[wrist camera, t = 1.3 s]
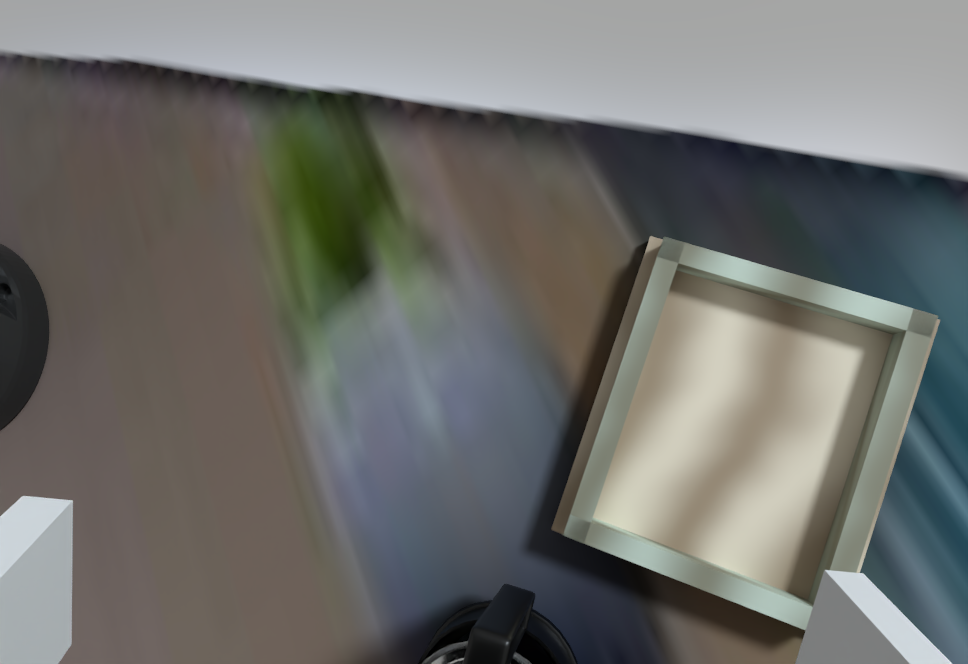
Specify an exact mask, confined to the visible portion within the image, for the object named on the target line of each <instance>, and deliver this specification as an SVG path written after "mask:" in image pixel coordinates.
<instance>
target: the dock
mask: <svg viewBox="0 0 968 664" xmlns="http://www.w3.org/2000/svg"><path fill="white" fill-rule="evenodd" d="M937 318H938V316H937V315H934V314H930V313H927V312H923V311H920V310H916V309H913V308H909V307H906V306H902V305H899V304H896V303H892V302H889V301H885V300H882V299H878V298H875V297H871V296H868V295H864V294H861V293H857V292H854V291H850V290H847V289H844V288H840V287H837V286H833V285H830V284H826V283H823V282H819V281H816V280H812V279H809V278H805V277H802V276H799V275H795V274H792V273H788V272H785V271H781V270H778V269H774V268H771V267H767V266H764V265H760V264H757V263H753V262H750V261H747V260H743V259H740V258H736V257H733V256H729V255H726V254H722V253H719V252H715V251H712V250H708V249H705V248H702V247H698V246H695V245H691V244H688V243H684V242H681V241H677V240H674V239H670V238H667V237H664V238H663V240H662V239H659V238H655V237H652V236H650V239H649V242H648V245H647V248H646V251H645V254H644V257H643V260H642V263H641V266H640V268H639V271H638V274H637V277H636V280H635V283H634V286H633V289H632V292H631V295H630V298H629V301H628V304H627V307H626V310H625V313H624V316H623V319H622V322H621V325H620V328H619V331H618V333H617V336H616V339H615V342H614V345H613V348H612V351H611V354H610V357H609V360H608V363H607V366H606V369H605V372H604V375H603V378H602V381H601V384H600V387H599V390H598V393H597V396H596V399H595V401H594V404H593V407H592V410H591V413H590V416H589V419H588V422H587V425H586V428H585V431H584V434H583V437H582V440H581V443H580V446H579V449H578V452H577V455H576V458H575V461H574V464H573V467H572V469H571V472H570V475H569V478H568V481H567V484H566V487H565V490H564V493H563V496H562V499H561V502H560V505H559V508H558V511H557V514H556V517H555V520H554V523H553V526H552V529H551V530H553V531H556V532H559V533H561V534H563V536H566V537H568V538H571V539H574V540H576V541H579V542H581V543H584V544H586V545H589V546H591V547H594V548H597V549H599V550H602V551H604V552H607V553H609V554H612V555H614V556H617V557H620V558H622V559H625V560H627V561H630V562H632V563H635V564H637V565H640V566H642V567H645V568H648V569H650V570H653V571H655V572H658V573H660V574H663V575H665V576H668V577H671V578H673V579H676V580H678V581H681V582H683V583H686V584H688V585H691V586H694V587H696V588H699V589H701V590H704V591H706V592H709V593H711V594H714V595H717V596H719V597H722V598H724V599H727V600H729V601H732V602H734V603H737V604H740V605H742V606H745V607H747V608H750V609H752V610H755V611H757V612H760V613H763V614H765V615H768V616H770V617H773V618H775V619H778V620H780V621H783V622H786V623H788V624H791V625H793V626H796V627H798V628H801V629H803V630H806V628H807V624H808V621H809V618H810V615H811V612H812V608H813V605H814V602H815V599H816V595H817V592H818V589H819V586H820V583H821V579H822V576H823V573H824V570H831V571H842V572H853V573H860V570H861V567H862V564H863V561H864V557H865V554H866V551H867V548H868V545H869V542H870V539H871V535H872V532H873V529H874V526H875V523H876V520H877V517H878V514H879V510H880V507H881V504H882V501H883V498H884V495H885V492H886V488H887V485H888V482H889V479H890V476H891V473H892V470H893V466H894V463H895V460H896V457H897V454H898V451H899V448H900V444H901V441H902V438H903V435H904V432H905V429H906V426H907V422H908V419H909V416H910V413H911V410H912V407H913V404H914V401H915V397H916V394H917V391H918V388H919V385H920V382H921V379H922V375H923V372H924V369H925V366H926V363H927V360H928V357H929V353H930V350H931V347H932V344H933V341H934V338H935V335H936V331H937V328H938V325H939V322H940V320H938V319H937Z"/></svg>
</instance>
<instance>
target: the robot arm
mask: <svg viewBox="0 0 968 664" xmlns="http://www.w3.org/2000/svg"><path fill="white" fill-rule="evenodd" d="M48 341H49V319H48V311H47V306H46V302H45V298H44V295H43V292H42V289H41V287H40V285H39V282H38V281H37V279H36V277H35V275H34V274H33V272H32V270H31V269H30V268H29V266H28V265H27V264H26V263H25V262H24V261H23V260H22V259H21V258H20V257H19V256H18V255H17V254H16V253H15V252H13V251H12V250H10V249H9V248H7V247H6V246H4V245H2V244H0V429H2V428H3V427H4V426H6V425H7V424H8V423H9V422H10V421H11V420H12V419H13V418H14V417H15V416H16V415H17V414H18V413H19V412H20V410H21V409H22V408H23V407H24V405H25V404H26V402H27V401H28V399H29V398H30V396H31V394H32V393H33V391H34V389H35V387H36V385H37V383H38V381H39V378H40V376H41V373H42V370H43V367H44V363H45V360H46V355H47V350H48ZM72 534H73V500H62V499H51V498H40V497H30V496H22V497H21V498H20V499H19V500H18V501H17V502H16V503H15V504H13V505H12V506H11V507H10V508H9V509H8V510H7V511H6V512H5V513H4V514H3V515H2V516H0V664H58V663H59V662H60V660H61V659H62V657H63V656H64V655H65V653H66V652H67V650H68V649H69V647H70V646H71V643H72ZM795 664H952V663H951V662H950V661H949V660H948V659H947V658H946V657H945V656H944V655H943V654H942V653H941V652H940V651H939V650H938V649H937V648H936V647H935V646H934V645H933V644H932V643H931V642H930V641H929V640H928V639H927V638H926V637H925V636H924V635H923V634H922V633H921V632H920V631H919V630H918V629H917V628H916V627H915V626H914V625H913V624H912V623H911V622H910V621H909V620H908V619H907V617H906V616H905V615H904V614H903V613H902V612H901V611H900V610H899V609H898V608H897V607H896V606H895V605H894V604H893V603H892V602H891V601H890V600H889V599H888V598H887V597H886V596H885V595H884V594H883V593H882V592H881V591H880V590H879V589H878V588H877V587H876V586H875V585H874V584H873V583H872V582H871V581H870V580H869V579H868V578H867V577H866V576H865V575H864V574H863V573H853V572H842V571H831V570H824V573H823V576H822V579H821V583H820V586H819V589H818V592H817V595H816V599H815V602H814V605H813V608H812V612H811V615H810V618H809V621H808V624H807V628H806V631H805V634H804V637H803V641H802V644H801V647H800V650H799V653H798V657H797V660H796V663H795Z"/></svg>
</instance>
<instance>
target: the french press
mask: <svg viewBox="0 0 968 664" xmlns="http://www.w3.org/2000/svg"><path fill="white" fill-rule="evenodd" d="M534 599H535V593H533V592H531V591H528V590H525V589H521V588H518V587H515V586H512V585H509V584H504V585H503V586H502V588H501V589H500V591H499V592H498V593H497V595H496V596H495V597H494V599H493V600H489V601H484V602H479V603H475V604H472V605H470V606H468V607H465V608H463V609H461V610H459V611H458V612H457V613H455V614H454V615H453V616H451V617H450V618H448V620H447V621H446V622H445V623H444V624H443V625H442V626H441V627H440V628H439V629H438V630H437V632H436V634H435V635H434V637H433V639H432V640H431V642H430V644H429V646H428V648H427V650H426V651H425V653H424V655H423V656H422V658H421V660H420V661H419V663H418V664H531V663H530V662H529V661H528V660H527V659H526V658H524V657H523V656H522V655H521V654H519V653H518V652H516V650H517V647H518V645H519V643H520V641H521V639H522V637H523V635H524V633H526V634H527V635H529V636H530V637H531V638H533V639H534V640H535V641H536V642H537V643H538V644H539V645H540V646H541V647H542V648H543V649H544V650H545V652H546V653H547V655H548V656H549V658H550V660H551V662H552V664H578V663H577V660H576V658H575V656H574V653H573V651H572V649H571V647H570V645H569V643H568V642H567V640H566V639H565V637H564V636H563V634H562V633H561V632H560V630H559V629H558V628H557V627H556V626H555V625H554V624H553V623H552V622H551V621H550V620H549V619H547V618H546V617H544V616H543V615H541V614H540V613H538V612H537V611H535V610H533V609H532V607H533V603H534ZM470 631H471V632H470ZM469 632H470V636H469V640H468V641H465V642H460V643H457V641H458V640H459V639H460V638H462V637H463V636H464V635H466V634H467V633H469Z"/></svg>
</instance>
